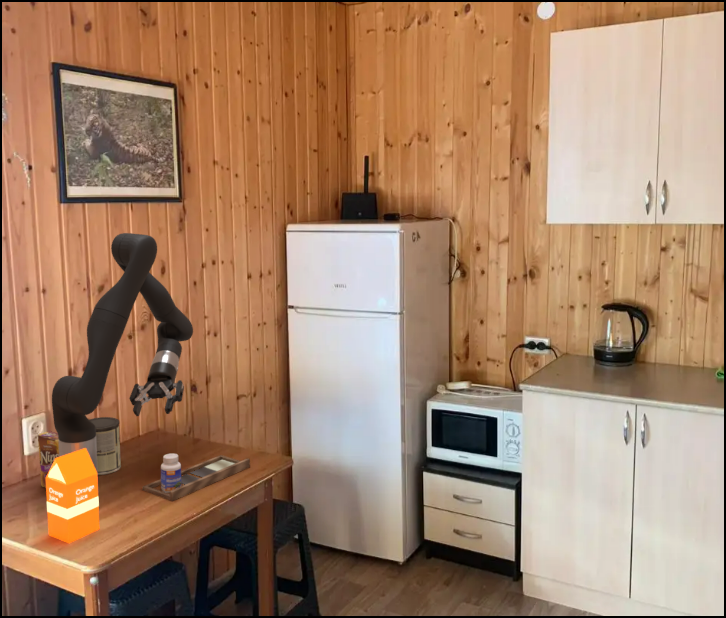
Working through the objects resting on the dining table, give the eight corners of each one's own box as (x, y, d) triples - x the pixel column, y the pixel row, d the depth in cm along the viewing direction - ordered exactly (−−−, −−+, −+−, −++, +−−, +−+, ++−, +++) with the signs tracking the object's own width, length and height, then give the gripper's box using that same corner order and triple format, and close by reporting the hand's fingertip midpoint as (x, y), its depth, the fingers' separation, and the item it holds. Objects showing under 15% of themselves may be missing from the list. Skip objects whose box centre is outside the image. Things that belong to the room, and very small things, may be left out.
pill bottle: (166, 495, 198) (165, 461, 197) (157, 488, 202) (156, 455, 201) (185, 490, 202) (184, 456, 200) (175, 483, 206) (175, 450, 204)
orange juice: (48, 535, 175) (43, 455, 171) (79, 521, 182) (75, 444, 179) (69, 543, 171) (65, 462, 167) (100, 529, 178) (97, 450, 175)
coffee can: (78, 467, 216) (76, 421, 214) (112, 459, 223) (110, 414, 221) (92, 478, 209) (90, 430, 206) (127, 469, 215) (125, 423, 213)
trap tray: (172, 501, 195) (172, 492, 194) (142, 490, 201) (142, 481, 201) (249, 466, 219) (249, 459, 219) (221, 458, 226) (220, 450, 225)
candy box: (39, 487, 202) (36, 434, 199) (53, 482, 205) (50, 429, 203) (61, 494, 197) (58, 440, 195) (74, 489, 201) (72, 435, 198)
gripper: (135, 362, 209) (121, 406, 197) (184, 358, 208) (173, 402, 196) (144, 380, 214) (130, 424, 202) (191, 376, 213) (181, 420, 201)
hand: (151, 413), depth 199 cm, fingers open, 8 cm apart
